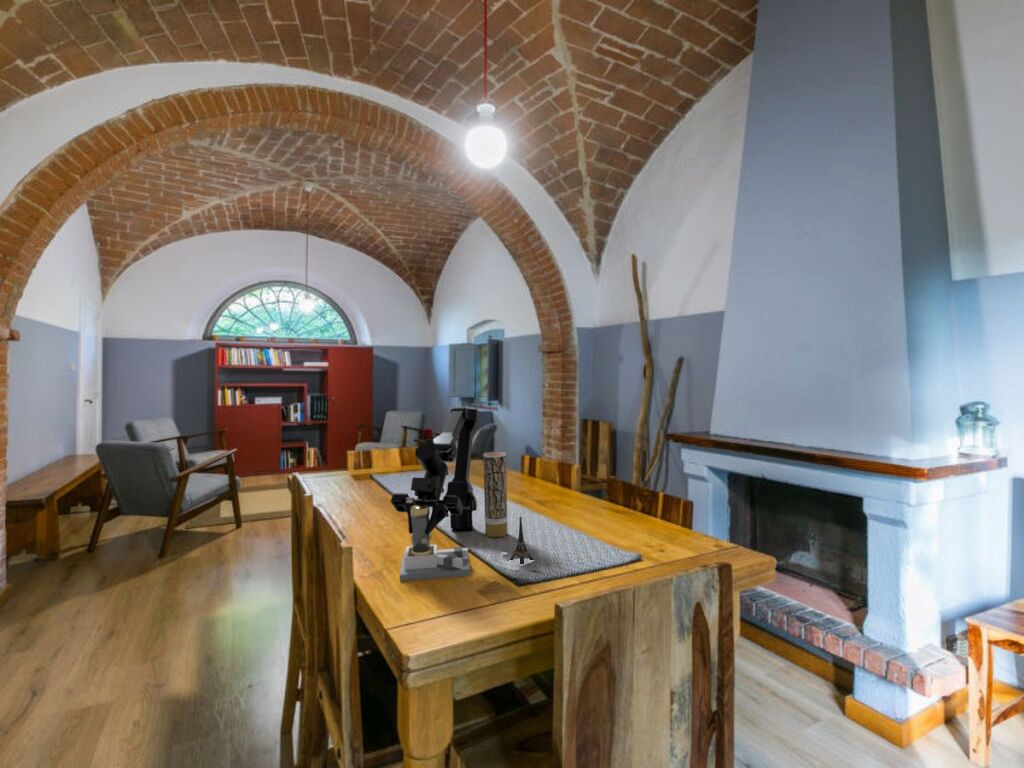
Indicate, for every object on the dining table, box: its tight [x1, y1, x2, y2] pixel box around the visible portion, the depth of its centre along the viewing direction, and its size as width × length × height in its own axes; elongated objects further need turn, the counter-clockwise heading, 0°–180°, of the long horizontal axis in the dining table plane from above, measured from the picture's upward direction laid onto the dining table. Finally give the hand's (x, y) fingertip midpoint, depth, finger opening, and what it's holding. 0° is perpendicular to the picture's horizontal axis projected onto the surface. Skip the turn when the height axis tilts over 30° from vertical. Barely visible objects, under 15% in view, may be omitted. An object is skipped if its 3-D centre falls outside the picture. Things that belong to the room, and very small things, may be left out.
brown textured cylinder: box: [483, 451, 508, 538], centre depth 156 cm, size 7×7×25 cm
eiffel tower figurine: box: [509, 512, 535, 564], centre depth 134 cm, size 15×10×13 cm
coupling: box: [409, 505, 432, 556], centre depth 131 cm, size 5×5×13 cm
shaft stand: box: [399, 544, 471, 582], centre depth 131 cm, size 17×15×4 cm
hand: (418, 533), depth 130 cm, fingers closed on coupling, 4 cm apart
